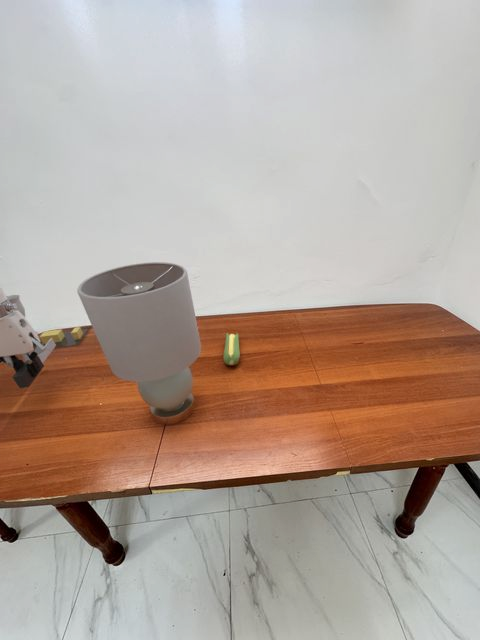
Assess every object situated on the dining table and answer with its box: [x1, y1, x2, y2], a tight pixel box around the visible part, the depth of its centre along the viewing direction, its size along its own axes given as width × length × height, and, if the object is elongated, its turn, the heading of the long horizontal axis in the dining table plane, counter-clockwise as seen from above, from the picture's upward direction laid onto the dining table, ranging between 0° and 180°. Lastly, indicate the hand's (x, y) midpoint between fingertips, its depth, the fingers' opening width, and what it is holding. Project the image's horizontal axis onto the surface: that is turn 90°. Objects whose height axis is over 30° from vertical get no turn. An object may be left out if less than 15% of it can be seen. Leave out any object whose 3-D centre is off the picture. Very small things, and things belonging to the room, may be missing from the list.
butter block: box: [39, 328, 65, 344], centre depth 107 cm, size 6×4×3 cm, turn 100°
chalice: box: [6, 294, 26, 318], centre depth 105 cm, size 7×7×18 cm
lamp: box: [76, 261, 202, 426], centre depth 67 cm, size 20×20×35 cm
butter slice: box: [71, 326, 83, 340], centre depth 108 cm, size 2×4×3 cm, turn 11°
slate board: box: [40, 328, 89, 349], centre depth 109 cm, size 14×12×2 cm
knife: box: [11, 338, 56, 389], centre depth 81 cm, size 2×20×4 cm, turn 10°
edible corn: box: [222, 332, 241, 366], centre depth 96 cm, size 5×20×5 cm, turn 4°
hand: (30, 374), depth 77 cm, fingers closed on knife, 2 cm apart
